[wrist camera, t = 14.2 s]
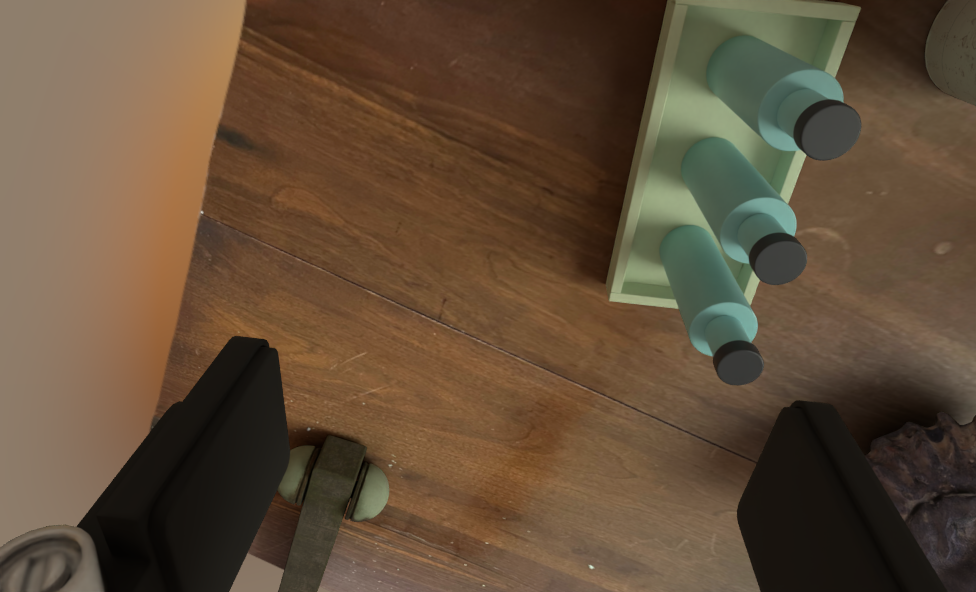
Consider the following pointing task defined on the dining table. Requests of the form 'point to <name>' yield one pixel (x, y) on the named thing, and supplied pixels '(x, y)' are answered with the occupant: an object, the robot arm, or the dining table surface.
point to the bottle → (711, 304)
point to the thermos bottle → (954, 50)
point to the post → (326, 504)
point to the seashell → (934, 492)
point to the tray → (708, 127)
